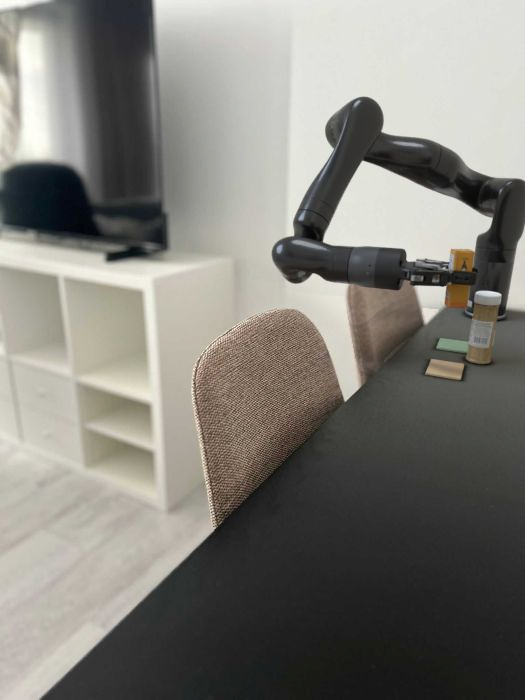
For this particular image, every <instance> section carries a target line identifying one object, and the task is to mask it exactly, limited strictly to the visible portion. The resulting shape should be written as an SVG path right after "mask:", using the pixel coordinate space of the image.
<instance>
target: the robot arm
mask: <svg viewBox="0 0 525 700" xmlns="http://www.w3.org/2000/svg"><path fill="white" fill-rule="evenodd" d="M384 115H385V114H384V112H383V110H382V107H381V106H380V104H379V103H378V101H376V99H374V98H372V97H369V96H358V97H356V98H355V97H354V98H353V99H351V100H350V101H349V102H347V103H345V104H344V105H343V106H342V107H341V108H339V109H338V110H337V111H336V112H334V113H333V114H332V116H330V117H329V119H328V120H327V122H326V124H325V127H324V135H325V138H326V140H327V142H328V144H329V146H330V147H331V148H332V149H333V150H332V151H331V154H330V155H329V157H328V158H327V160H326V162H325V164H324V165H323V167H322V168H321V169H320V170H319V171H318V173H317V175H316V176H315V177H314V179H313V180H312V182H311V183H310V185H309V186H308V188H307V190H306V192H305V193H304V196H303V197H302V200H301V202H300V204H299V206H298V208H297V210H296V213H295V215H294V217H293V219H292V229H293V235H289V236H285V237H282V238H281V239H278V240H277V241H276V242H275V243H274V245H273V246H272V249H271V260H272V263H273V264H274V266H275V267H276V269H277V270H278V272H279V273H280V274H281V276H282V277H283V279H284V280H286V281H287V282H288V283H290V284H294V285H299V284H302V283H305V282H306V281H308V280H309V279H310V278H311V277H312V275H313V274H314V275H317V276H319V277H320V278H321V279H322V280H324V281H325V282H329V283H333V284H334V283H336V284H345V285H354V286H357V287H362V288H370V289H380V290H387V291H388V290H389V291H400V290H401V289H402V288H403V286H404V282H405V281H408V282H409V285H410V286H412V287H415V286H416V287H442V288H444V287H446V285H451V283H452V284H461V285H470V289H469V296H468V304H467V308H465V310H464V315H465V316H467V317H470V318H472V317H473V312H474V303H475V302H474V298H475V293H476V292H478V291H492V292H497V293H500V294H501V295H502V297H501V304H500V306H499V308H498V315H497V321H502V320H504V319H506V311H507V306H508V300H509V294H510V289H511V282H512V277H513V272H514V268H515V267H514V266H515V261H516V255H517V249H518V244H519V242H520V240H521V238H522V237H523V234H524V230H525V180H524V179H522V178H516V177H495V176H490V175H488V174H483V173H481V172H479V171H476V170H474V169H472V168H470V167H469V166H468V165H467V164H466V163H465V161H464V159H463V158H462V157H461V156H460V155H459V154H458V153H457V152H455V151H454V150H452V149H451V148H449V147H448V146H445V145H443V144H441V143H439V142H437V141H435V140H432V139H429V138H424V137H415V136H403V135H395V134H389V133H386V132H384V131H383V129H384V125H385V123H384V122H385V117H384ZM362 162H366V163H368V164H370V165H371V164H372V165H374V166H377V167H380V168H381V169H383V170H387V172H390V173H393V174H395V175H397V176H399V177H401V178H403V179H407V180H408V181H410V182H412V183H414V184H417V185H419V186H421V187H423V188H425V189H427V190H430V191H432V192H436V193H438V194H441V195H443V196H446V197H451V198H453V199H455V200H458V201H460V202H461V203H463V204H465V205H466V206H468V207H469V208H470V209H473V210H474V211H475V212H477V213H479V214H480V215H482V216H484V217H487V218H492V219H491V223H490V227H489V228H487V230H486V231H484V232H481V233H479V234H478V235H477V236H476V240H475V246H474V252H475V254H474V260H473V267H472V272H470V271H458V270H454V273H453V270H451V269H448V268H449V261H445V260H435V259H428V258H416V259H415V260H414V261H413V260H412V261H408V260H407V257H408V256H407V251H406V249H405V248H400V247H386V246H385V247H384V246H371V245H361V246H352V245H336V244H335V245H334V244H330V243H327V242H324V239H325V236H326V233H327V231H328V229H329V227H330V225H331V222H332V220H333V218H334V217H335V214H336V212H337V209H338V207H339V205H340V203H341V200H342V198H343V197H344V194H345V192H346V190H347V188H348V187H349V185H350V183H351V181H352V179H353V178H354V176H355V174H356V172H357V171H358V169H359V167H360V165H361V164H362Z"/></svg>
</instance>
